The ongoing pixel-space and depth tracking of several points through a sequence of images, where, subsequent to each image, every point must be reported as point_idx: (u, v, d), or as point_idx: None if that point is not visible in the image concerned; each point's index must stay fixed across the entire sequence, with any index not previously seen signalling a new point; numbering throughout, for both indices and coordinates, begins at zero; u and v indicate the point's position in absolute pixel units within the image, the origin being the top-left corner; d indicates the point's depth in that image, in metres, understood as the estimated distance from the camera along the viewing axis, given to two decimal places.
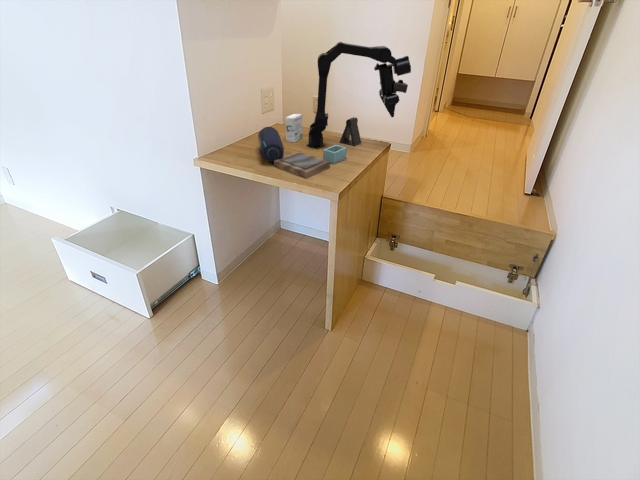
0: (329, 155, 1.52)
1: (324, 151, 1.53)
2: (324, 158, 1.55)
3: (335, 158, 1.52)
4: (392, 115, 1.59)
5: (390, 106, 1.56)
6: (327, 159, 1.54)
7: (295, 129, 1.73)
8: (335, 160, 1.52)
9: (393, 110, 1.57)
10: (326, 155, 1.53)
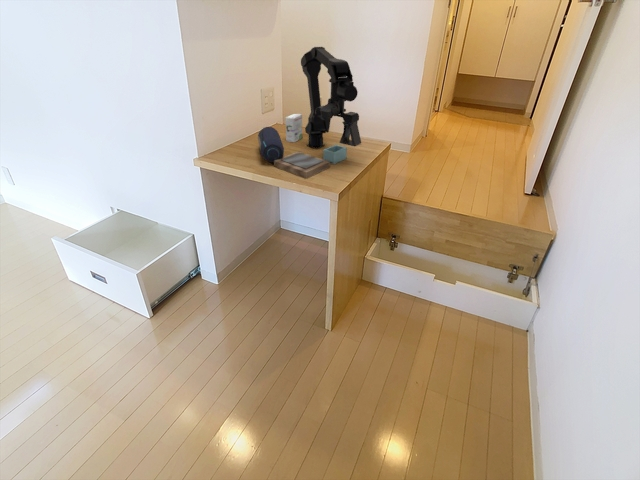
0: (329, 155, 1.52)
1: (324, 151, 1.53)
2: (324, 158, 1.55)
3: (335, 158, 1.52)
4: None
5: None
6: (327, 159, 1.54)
7: (295, 129, 1.73)
8: (335, 160, 1.52)
9: None
10: (326, 155, 1.53)
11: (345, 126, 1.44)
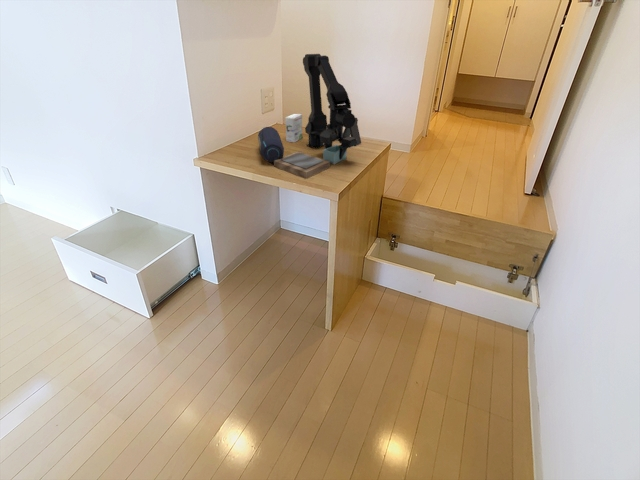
0: (329, 155, 1.52)
1: (324, 151, 1.53)
2: (324, 158, 1.55)
3: (335, 158, 1.52)
4: None
5: None
6: (327, 159, 1.54)
7: (295, 129, 1.73)
8: (335, 160, 1.52)
9: None
10: (326, 155, 1.53)
11: (341, 149, 1.50)
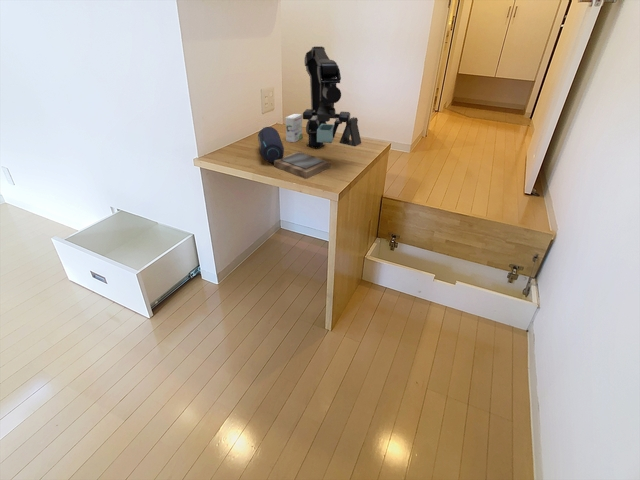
0: (325, 134, 1.43)
1: (318, 130, 1.43)
2: (319, 139, 1.45)
3: (331, 136, 1.44)
4: None
5: None
6: (322, 139, 1.45)
7: (295, 129, 1.73)
8: (331, 138, 1.45)
9: None
10: (321, 135, 1.44)
11: (336, 126, 1.44)
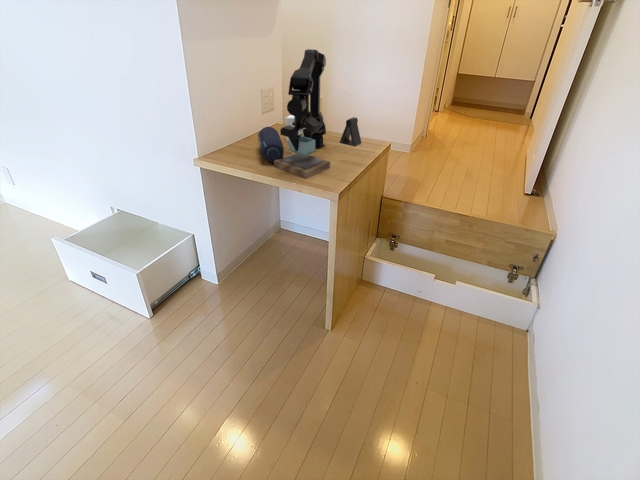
0: (311, 145, 1.42)
1: (306, 143, 1.39)
2: (306, 152, 1.41)
3: None
4: (295, 148, 1.42)
5: (293, 138, 1.40)
6: (309, 151, 1.42)
7: None
8: None
9: (295, 144, 1.40)
10: (308, 147, 1.41)
11: (311, 135, 1.44)
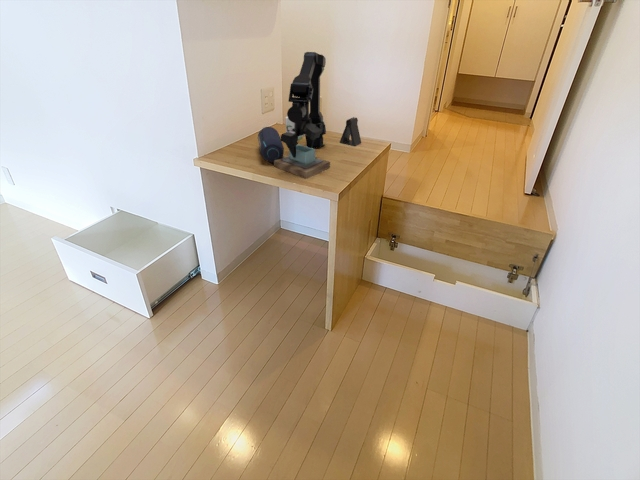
0: (311, 155, 1.44)
1: (306, 153, 1.41)
2: (306, 161, 1.43)
3: None
4: (293, 155, 1.42)
5: (290, 145, 1.40)
6: (309, 160, 1.44)
7: None
8: None
9: (293, 151, 1.41)
10: (308, 157, 1.43)
11: (314, 140, 1.46)
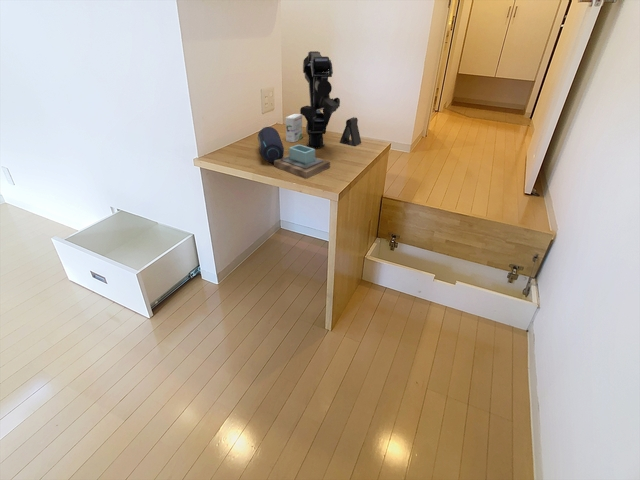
0: (311, 155, 1.44)
1: (306, 153, 1.41)
2: (306, 161, 1.43)
3: None
4: (311, 128, 1.52)
5: (309, 118, 1.50)
6: (309, 160, 1.44)
7: (295, 129, 1.73)
8: None
9: (311, 123, 1.50)
10: (308, 157, 1.43)
11: (330, 114, 1.56)
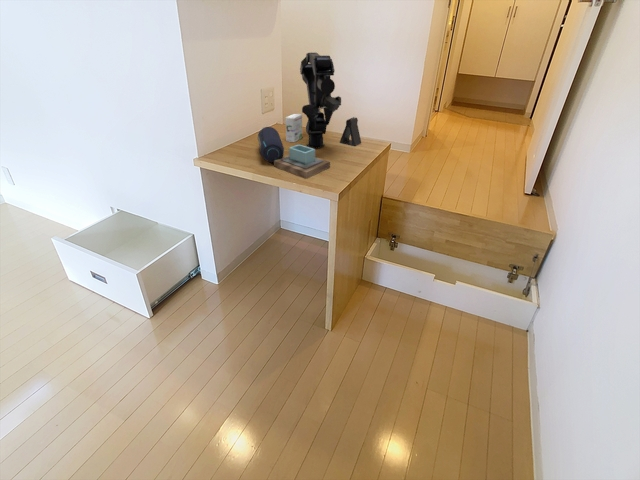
0: (311, 155, 1.44)
1: (306, 153, 1.41)
2: (306, 161, 1.43)
3: None
4: (313, 126, 1.53)
5: (311, 117, 1.50)
6: (309, 160, 1.44)
7: (295, 129, 1.73)
8: None
9: (313, 122, 1.51)
10: (308, 157, 1.43)
11: (331, 113, 1.57)
